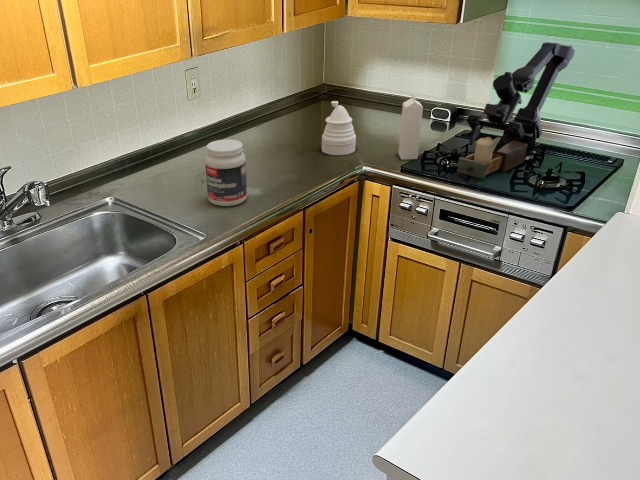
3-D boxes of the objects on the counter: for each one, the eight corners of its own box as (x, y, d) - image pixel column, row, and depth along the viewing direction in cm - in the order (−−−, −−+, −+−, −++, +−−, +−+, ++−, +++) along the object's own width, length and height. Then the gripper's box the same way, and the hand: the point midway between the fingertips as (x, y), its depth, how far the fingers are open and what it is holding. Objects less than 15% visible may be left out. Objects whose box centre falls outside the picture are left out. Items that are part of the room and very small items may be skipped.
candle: (483, 163, 215) (488, 134, 210) (493, 168, 211) (498, 139, 205) (469, 165, 214) (473, 136, 209) (479, 170, 210) (483, 141, 204)
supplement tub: (204, 207, 199) (200, 151, 190) (211, 192, 210) (207, 138, 200) (244, 208, 197) (242, 151, 188) (249, 192, 208) (247, 138, 199)
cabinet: (503, 172, 212) (507, 153, 209) (474, 164, 220) (477, 146, 216) (524, 162, 220) (528, 143, 216) (495, 155, 227) (498, 137, 224)
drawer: (481, 179, 205) (483, 165, 203) (454, 172, 212) (456, 159, 209) (503, 168, 213) (505, 155, 210) (477, 162, 219) (479, 148, 217)
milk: (401, 159, 228) (406, 98, 216) (398, 154, 233) (403, 93, 221) (418, 159, 227) (424, 97, 216) (414, 153, 233) (420, 93, 221)
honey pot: (318, 154, 237) (319, 106, 228) (325, 143, 248) (326, 97, 238) (352, 156, 234) (354, 107, 224) (357, 145, 244) (360, 98, 234)
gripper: (473, 89, 208) (450, 129, 208) (526, 98, 196) (501, 141, 196) (482, 107, 216) (460, 146, 216) (534, 117, 204) (510, 159, 204)
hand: (482, 148), depth 208 cm, fingers open, 9 cm apart
